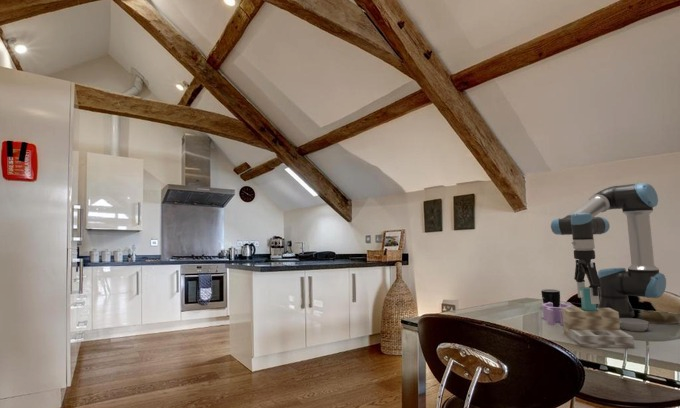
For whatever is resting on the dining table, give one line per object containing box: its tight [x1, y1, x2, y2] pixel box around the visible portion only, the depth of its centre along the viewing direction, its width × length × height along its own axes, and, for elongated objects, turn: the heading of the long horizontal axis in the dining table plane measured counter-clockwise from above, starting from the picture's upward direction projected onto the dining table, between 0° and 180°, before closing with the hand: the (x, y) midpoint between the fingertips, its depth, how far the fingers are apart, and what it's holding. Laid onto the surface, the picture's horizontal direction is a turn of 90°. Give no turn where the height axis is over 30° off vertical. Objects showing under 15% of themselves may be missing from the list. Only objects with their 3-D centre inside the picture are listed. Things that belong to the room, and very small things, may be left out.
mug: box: [541, 288, 561, 307], centre depth 206 cm, size 12×9×10 cm
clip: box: [541, 302, 572, 327], centre depth 183 cm, size 20×12×7 cm, turn 150°
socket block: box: [562, 307, 635, 349], centre depth 151 cm, size 18×18×11 cm
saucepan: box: [619, 317, 650, 332], centre depth 164 cm, size 11×18×4 cm, turn 92°
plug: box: [579, 286, 597, 311], centre depth 156 cm, size 5×4×12 cm
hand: (588, 300), depth 156 cm, fingers open, 13 cm apart
